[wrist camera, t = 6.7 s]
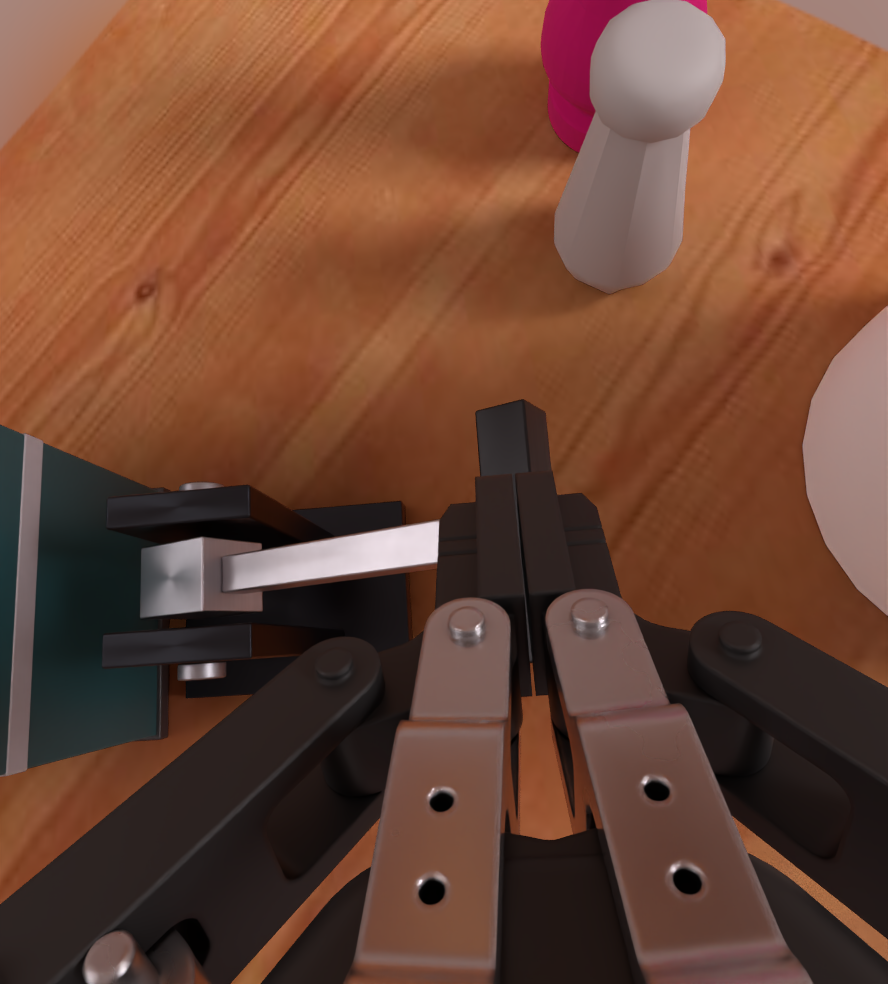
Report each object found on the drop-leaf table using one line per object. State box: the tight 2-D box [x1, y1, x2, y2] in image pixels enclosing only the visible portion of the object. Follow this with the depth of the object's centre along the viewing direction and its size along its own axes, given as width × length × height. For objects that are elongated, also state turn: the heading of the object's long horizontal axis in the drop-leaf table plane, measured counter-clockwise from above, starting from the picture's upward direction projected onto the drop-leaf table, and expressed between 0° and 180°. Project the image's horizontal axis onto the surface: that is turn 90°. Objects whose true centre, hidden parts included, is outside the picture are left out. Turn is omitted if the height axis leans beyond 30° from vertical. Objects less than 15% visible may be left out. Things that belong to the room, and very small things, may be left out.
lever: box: [140, 399, 551, 663], centre depth 20 cm, size 13×6×2 cm, turn 96°
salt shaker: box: [554, 0, 725, 294], centre depth 29 cm, size 6×6×13 cm
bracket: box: [102, 482, 413, 699], centre depth 27 cm, size 10×8×13 cm
